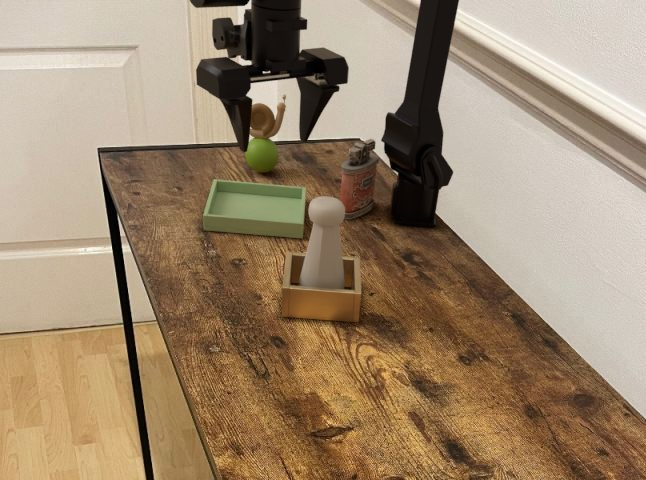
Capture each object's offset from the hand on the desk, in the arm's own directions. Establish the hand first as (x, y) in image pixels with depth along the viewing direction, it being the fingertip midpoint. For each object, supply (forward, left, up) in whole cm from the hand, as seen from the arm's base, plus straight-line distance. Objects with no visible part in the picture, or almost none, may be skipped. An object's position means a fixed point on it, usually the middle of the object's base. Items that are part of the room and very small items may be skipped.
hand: (274, 145), depth 100 cm
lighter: (-12, -15, -14) cm, 24 cm away
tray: (+3, -10, -14) cm, 17 cm away
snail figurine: (+3, -27, -14) cm, 31 cm away
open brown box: (-7, +14, -14) cm, 21 cm away
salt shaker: (-7, +14, -14) cm, 21 cm away
